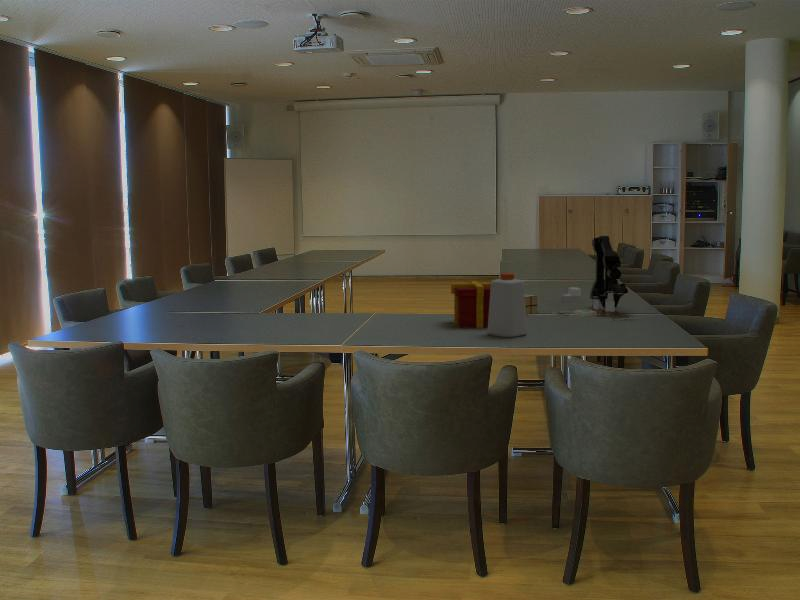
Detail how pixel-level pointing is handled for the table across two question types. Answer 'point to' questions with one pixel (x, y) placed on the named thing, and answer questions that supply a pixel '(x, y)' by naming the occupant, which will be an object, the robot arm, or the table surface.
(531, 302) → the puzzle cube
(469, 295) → the gift box
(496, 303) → the plastic bottle
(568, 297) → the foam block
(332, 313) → the table surface
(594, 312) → the button console
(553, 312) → the tray
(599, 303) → the block
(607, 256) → the robot arm
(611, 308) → the block
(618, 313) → the pallet board
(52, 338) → the table surface
